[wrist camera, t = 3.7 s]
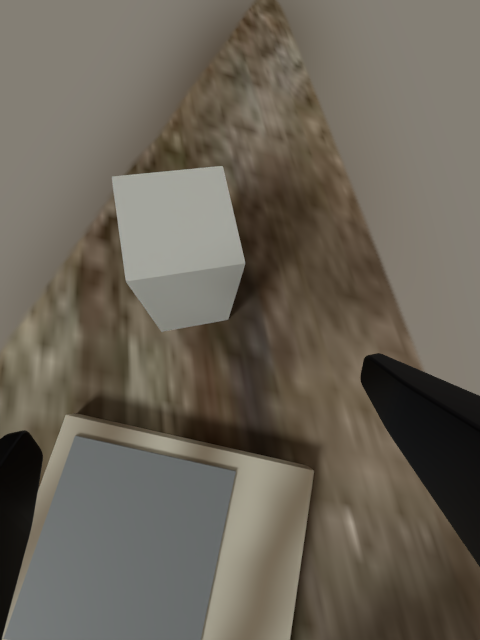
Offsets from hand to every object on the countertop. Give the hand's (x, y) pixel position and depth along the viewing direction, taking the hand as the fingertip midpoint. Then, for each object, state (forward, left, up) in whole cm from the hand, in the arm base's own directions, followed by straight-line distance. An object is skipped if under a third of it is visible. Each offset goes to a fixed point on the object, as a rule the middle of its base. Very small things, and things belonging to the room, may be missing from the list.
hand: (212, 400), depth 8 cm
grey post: (+3, -7, -13) cm, 15 cm away
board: (0, +12, -13) cm, 18 cm away
